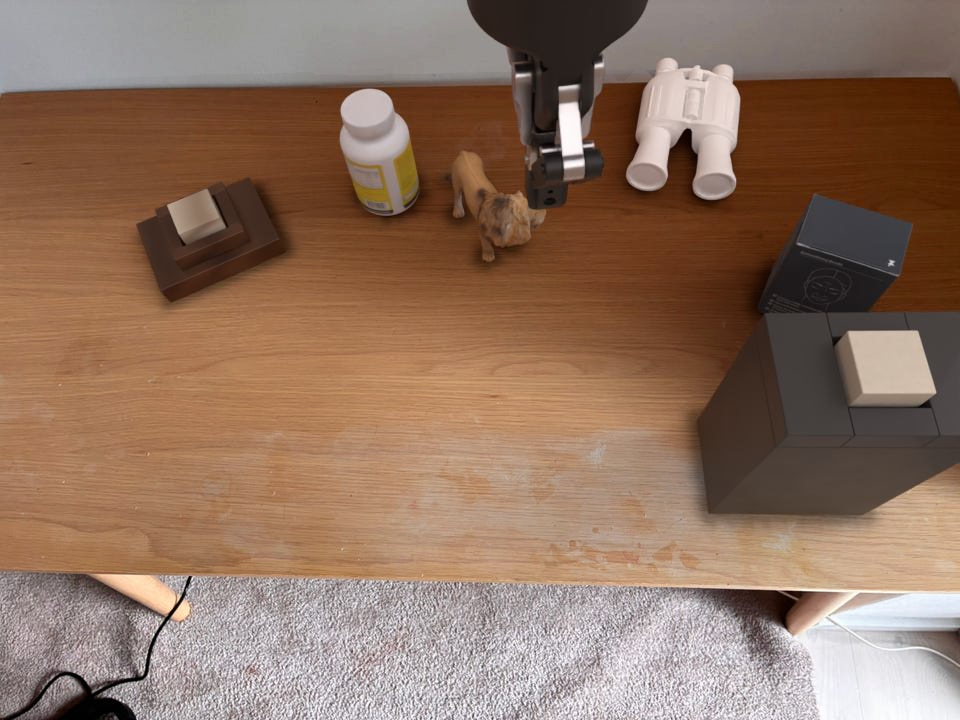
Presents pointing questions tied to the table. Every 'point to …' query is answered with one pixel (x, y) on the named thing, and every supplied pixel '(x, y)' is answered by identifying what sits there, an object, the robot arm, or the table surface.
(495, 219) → the lion figurine
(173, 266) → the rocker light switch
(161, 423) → the table surface
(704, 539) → the table surface
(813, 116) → the table surface
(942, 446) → the dark block with slot
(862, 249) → the box
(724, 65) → the binoculars
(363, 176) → the pill bottle
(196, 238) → the key far
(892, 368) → the key near
